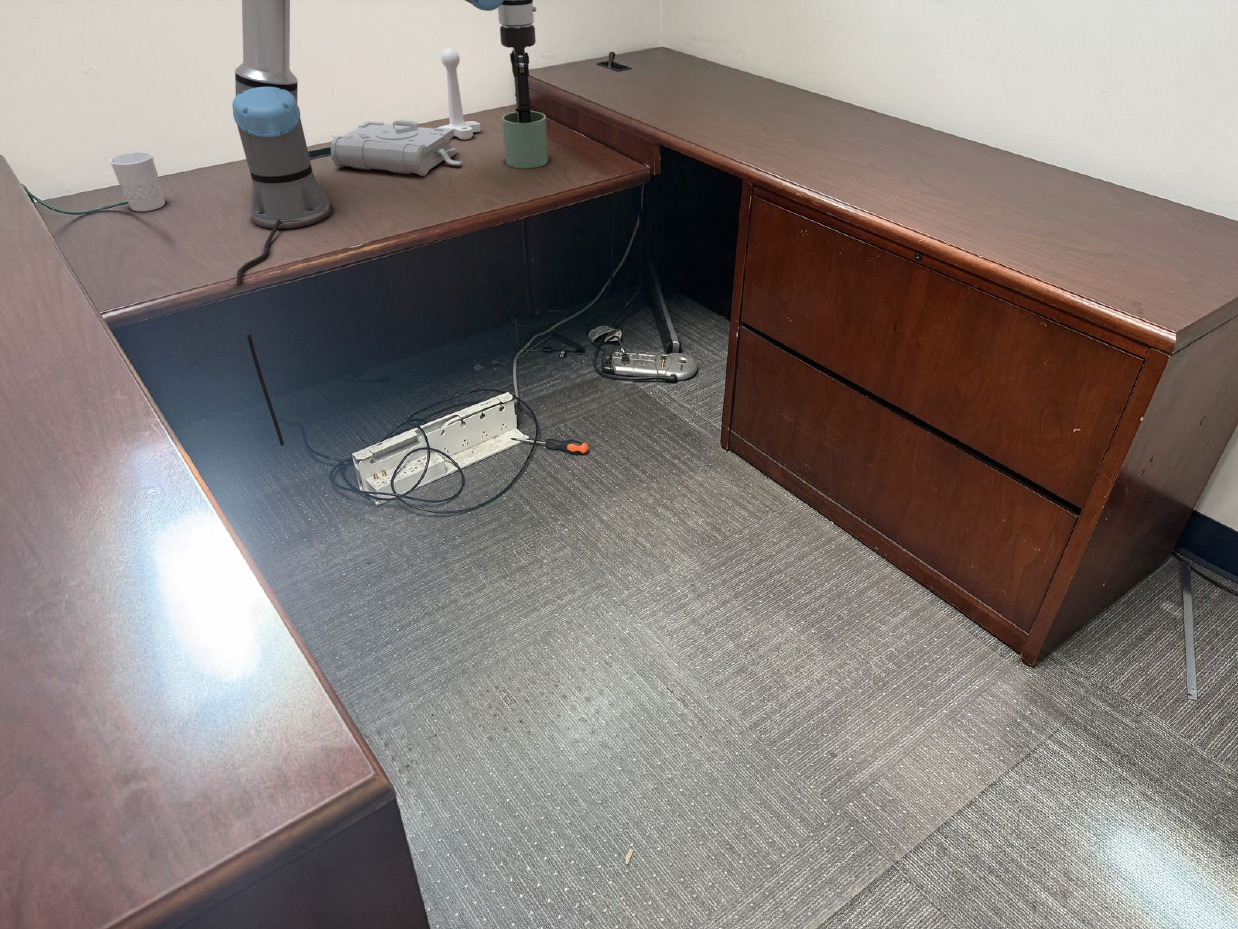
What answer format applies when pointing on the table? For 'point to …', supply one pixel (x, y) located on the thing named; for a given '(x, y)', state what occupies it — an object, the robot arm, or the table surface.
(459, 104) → the joystick
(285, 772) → the table surface
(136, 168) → the white cup
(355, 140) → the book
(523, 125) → the pen cup
